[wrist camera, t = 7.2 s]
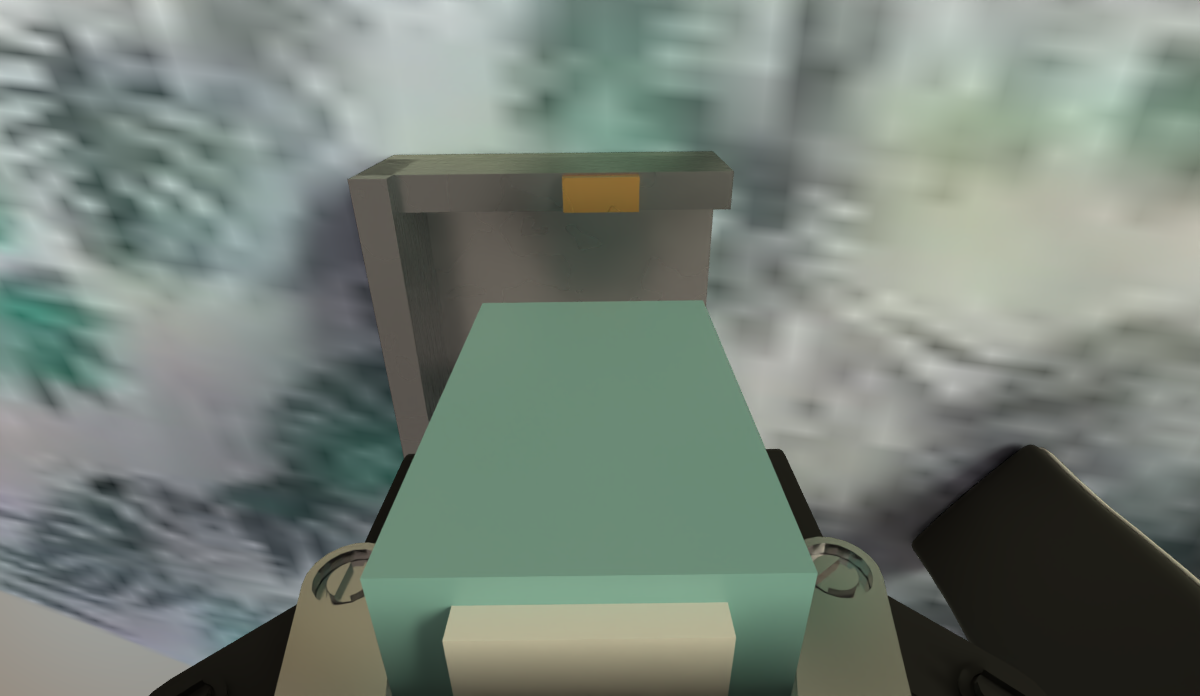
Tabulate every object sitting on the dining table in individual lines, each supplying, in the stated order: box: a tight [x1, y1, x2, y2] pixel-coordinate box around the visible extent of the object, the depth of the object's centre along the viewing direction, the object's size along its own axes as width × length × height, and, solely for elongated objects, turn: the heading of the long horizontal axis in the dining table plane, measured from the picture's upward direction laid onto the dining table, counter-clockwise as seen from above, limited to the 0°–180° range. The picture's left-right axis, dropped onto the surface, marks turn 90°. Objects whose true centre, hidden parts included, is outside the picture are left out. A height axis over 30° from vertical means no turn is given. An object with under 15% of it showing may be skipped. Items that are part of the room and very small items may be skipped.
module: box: [360, 300, 818, 696], centre depth 10 cm, size 4×6×7 cm
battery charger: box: [912, 445, 1200, 696], centre depth 20 cm, size 7×4×11 cm, turn 148°
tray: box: [348, 151, 734, 458], centre depth 19 cm, size 10×10×4 cm
